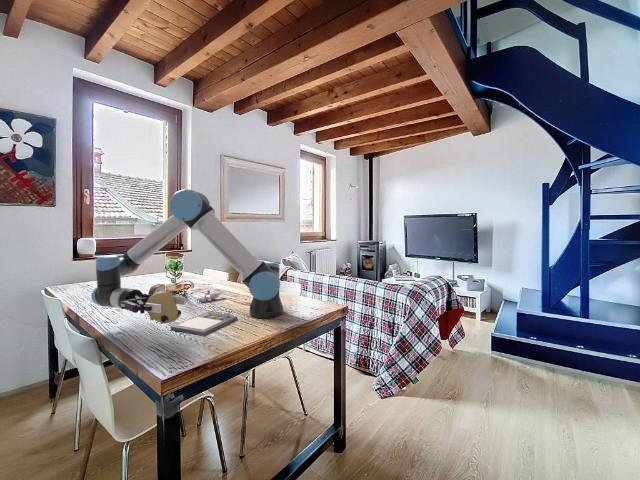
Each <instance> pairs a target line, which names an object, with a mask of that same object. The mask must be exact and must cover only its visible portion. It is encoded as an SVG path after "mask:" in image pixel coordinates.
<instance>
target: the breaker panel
mask: <svg viewBox="0 0 640 480" xmlns="http://www.w3.org/2000/svg"><path fill="white" fill-rule="evenodd" d="M237 320H238V316H237V315H231V314H230V311H224V312H223V310H216V311H215V310H214V309H209V310H208V311H207V312H203V313H201V314H199V315H196V316H193V317H191V318H189V319H187V320H184V321H181V322H179V323H176V324H173V325H171V326H170V330H171V331H178V332H181V333H182V332H183V333H187V334H193V335H200V336H206V335H208V334H210V333H212V332H214V331H216V330H218V329H220V328H222V327H225V326H226V325H228V324H230V323H233V322H235V321H237Z"/></svg>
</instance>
